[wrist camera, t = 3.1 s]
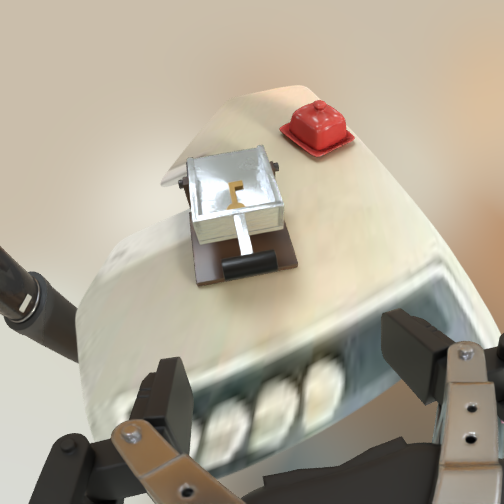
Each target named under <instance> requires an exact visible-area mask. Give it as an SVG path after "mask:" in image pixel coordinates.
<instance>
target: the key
mask: <svg viewBox="0 0 504 504" xmlns="http://www.w3.org/2000/svg"><path fill="white" fill-rule="evenodd" d="M228 186H229V191H230V196H231V201H232V204H230V205H229V206H228V207H227V210H230V209H236V208H241V207H246V206H245V205H244V204H242V203H239V202H238V201H237V196H236V192H235V189H240V188H244V187H243V182H242V180H241V181H235V182H230V183H228Z"/></svg>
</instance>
